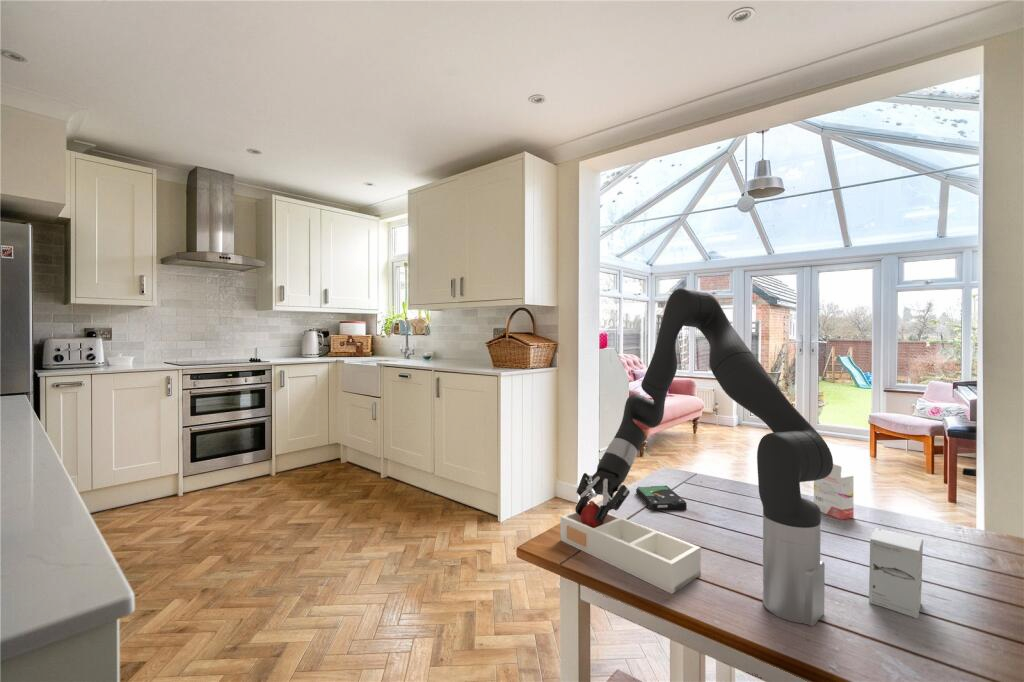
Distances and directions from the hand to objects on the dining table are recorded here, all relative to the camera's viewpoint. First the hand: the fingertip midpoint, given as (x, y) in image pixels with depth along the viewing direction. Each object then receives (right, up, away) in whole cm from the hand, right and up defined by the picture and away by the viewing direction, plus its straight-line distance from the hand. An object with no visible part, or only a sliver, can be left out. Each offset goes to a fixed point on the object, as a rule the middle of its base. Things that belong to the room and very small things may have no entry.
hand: (587, 517), depth 114 cm
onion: (+1, -4, +1) cm, 5 cm away
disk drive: (+27, -6, +28) cm, 39 cm away
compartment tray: (+8, -7, -7) cm, 12 cm away
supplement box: (+54, -7, -26) cm, 61 cm away
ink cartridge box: (+72, -6, +17) cm, 74 cm away
